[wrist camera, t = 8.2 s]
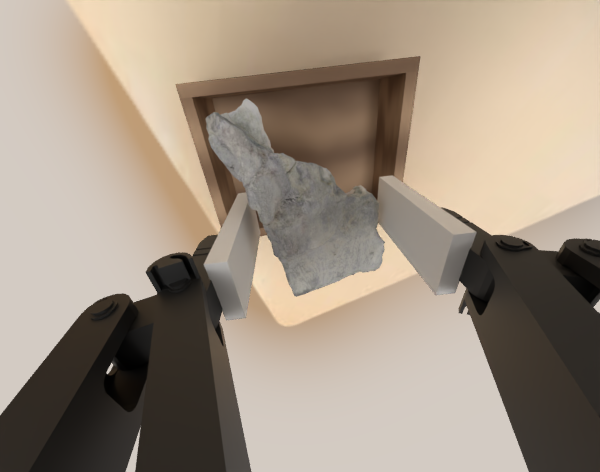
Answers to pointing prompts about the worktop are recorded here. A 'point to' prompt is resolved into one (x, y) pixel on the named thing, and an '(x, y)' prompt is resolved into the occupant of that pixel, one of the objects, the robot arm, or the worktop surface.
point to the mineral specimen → (298, 205)
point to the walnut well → (314, 121)
